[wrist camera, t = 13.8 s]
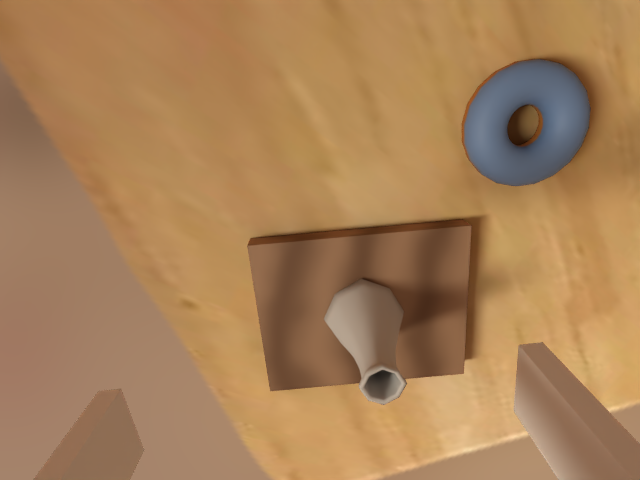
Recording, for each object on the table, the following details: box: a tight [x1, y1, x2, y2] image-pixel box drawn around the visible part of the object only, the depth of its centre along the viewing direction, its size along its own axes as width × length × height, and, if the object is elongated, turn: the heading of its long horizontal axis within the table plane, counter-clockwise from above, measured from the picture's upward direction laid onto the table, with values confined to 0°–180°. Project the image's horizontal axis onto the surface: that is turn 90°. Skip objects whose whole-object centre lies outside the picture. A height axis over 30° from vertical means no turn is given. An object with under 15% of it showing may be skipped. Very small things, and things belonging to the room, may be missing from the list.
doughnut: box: [462, 59, 591, 186], centre depth 31 cm, size 10×10×5 cm
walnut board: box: [247, 219, 471, 391], centre depth 37 cm, size 20×16×2 cm
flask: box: [324, 279, 407, 405], centre depth 31 cm, size 7×7×10 cm
